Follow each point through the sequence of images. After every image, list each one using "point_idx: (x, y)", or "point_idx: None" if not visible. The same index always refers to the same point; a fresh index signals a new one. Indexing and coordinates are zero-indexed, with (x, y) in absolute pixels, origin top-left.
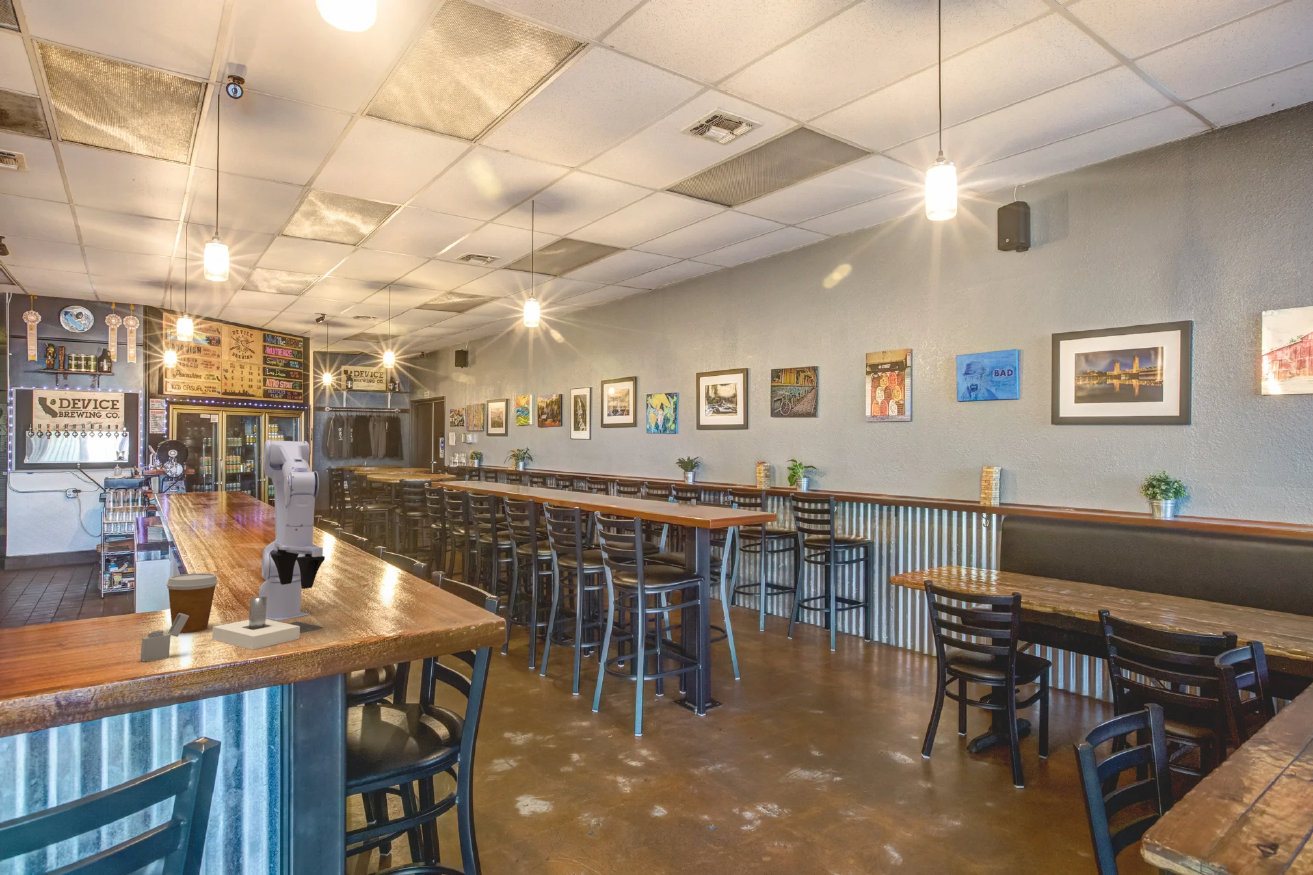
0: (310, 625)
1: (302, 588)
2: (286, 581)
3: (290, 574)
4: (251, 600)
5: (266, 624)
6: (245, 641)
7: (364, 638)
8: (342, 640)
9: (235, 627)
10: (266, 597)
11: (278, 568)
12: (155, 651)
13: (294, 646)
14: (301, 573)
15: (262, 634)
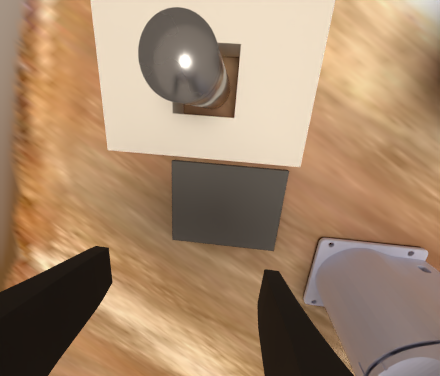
0: (214, 238)
1: (102, 247)
2: (262, 296)
3: (264, 349)
4: (181, 11)
5: (203, 116)
6: None
7: (47, 220)
8: (63, 190)
9: (253, 30)
10: (158, 92)
11: (312, 354)
12: None
13: (89, 102)
14: (12, 299)
15: (92, 15)
